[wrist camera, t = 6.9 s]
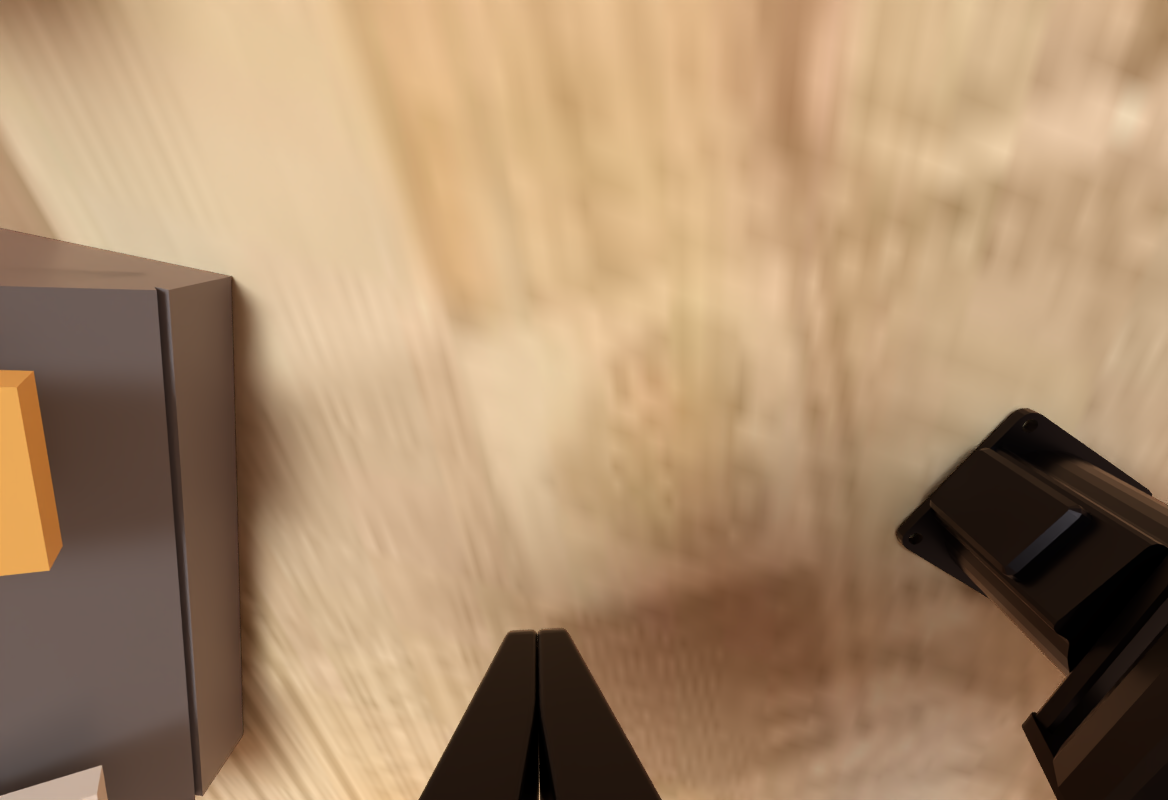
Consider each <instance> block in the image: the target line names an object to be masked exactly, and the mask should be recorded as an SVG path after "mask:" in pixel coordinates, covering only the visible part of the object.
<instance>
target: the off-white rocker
mask: <svg viewBox="0 0 1168 800" xmlns="http://www.w3.org/2000/svg"><path fill="white" fill-rule="evenodd" d="M0 800H108V798H107V792H106V786H105V780H104V774H103V768H102V765H100V766H97V767H94V768H90V769H87V770H84V771H80V772H77V773H74V774H71V775H67V776H64V777H61V778H57V779H54V780H51V781H48V782H44V783H41V784H38V785H34V786H31V787H28V788H24V789H21V790H18V791H15V792H11V793H8V794H5V795H1V796H0Z"/></svg>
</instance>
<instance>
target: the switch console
mask: <svg viewBox="0 0 1168 800" xmlns="http://www.w3.org/2000/svg"><path fill="white" fill-rule="evenodd" d="M0 370H20V371H34V376H35V382H36V388H37V394H38V400H39V406H40V412H41V418H42V424H43V430H44V436H45V442H46V448H47V454H48V460H49V466H50V472H51V478H52V484H53V490H54V496H55V502H56V508H57V514H58V521H59V527H60V533H61V539H62V545H63V546H62V548H61V550H60V552H59V554H58V556H57V558H56V559H55V561H54V563H53V565H52V567H51V569H50V571H41V572H32V573H23V574H14V575H4V576H0V796H1V795H5V794H8V793H11V792H15V791H18V790H21V789H24V788H28V787H31V786H34V785H38V784H41V783H44V782H48V781H51V780H54V779H57V778H61V777H64V776H67V775H71V774H74V773H77V772H80V771H84V770H87V769H90V768H94V767H97V766H100V765H102V768H103V774H104V780H105V786H106V792H107V798H108V800H195V795H200V796H203V795H204V794H205V792H206V790H207V789H208V787H209V786H210V784H211V783H212V781H213V780H214V778H215V777H216V775H217V774H218V772H219V771H220V769H221V768H222V766H223V765H224V763H225V761H226V760H227V758H228V757H229V755H230V754H231V752H232V751H233V749H234V748H235V746H236V745H237V743H238V742H239V740H240V739H241V737H242V736H243V712H242V674H241V635H240V596H239V557H238V519H237V480H236V441H235V403H234V364H233V325H232V286H231V276H227V275H223V274H218V273H213V272H208V271H203V270H199V269H194V268H189V267H184V266H179V265H175V264H170V263H165V262H160V261H155V260H151V259H146V258H141V257H136V256H131V255H127V254H122V253H117V252H112V251H107V250H103V249H98V248H93V247H88V246H83V245H79V244H74V243H69V242H64V241H60V240H55V239H50V238H45V237H40V236H36V235H31V234H26V233H21V232H16V231H12V230H7V229H2V228H0Z"/></svg>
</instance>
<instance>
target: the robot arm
mask: <svg viewBox="0 0 1168 800" xmlns="http://www.w3.org/2000/svg"><path fill="white" fill-rule="evenodd" d="M1027 420H1029V422H1028V424H1027V425H1026V426H1025V427H1023V424H1024V423H1025V422H1026V421H1027ZM915 533H916V535H915V536H914V537H912V538H909V537H910V536H911V535H912V534H915ZM897 538H898V540H899V541H900V542H901V543H902V544H903V545H904V546H905V547H906V548H907V549H908V550H910V551H912V552H913V553H915V554H917V555H918V556H920V557H922V558H923V559H925V560H927V561H928V562H930V563H932V564H933V565H935V566H937V567H938V568H940V569H942V570H943V571H945V572H946V573H948V574H950V575H951V576H953V577H955V578H956V579H958V580H960V581H961V582H963V583H965V584H966V585H968V586H970V587H971V588H973V589H975V590H976V591H978V592H979V593H981V594H983V595H984V596H986V597H988V598H989V599H991V600H992V601H993V603H994V604H995V605H996V606H997V607H998V608H999V609H1000V610H1001V611H1002V612H1003V613H1004V614H1005V615H1006V616H1007V617H1008V618H1009V619H1010V620H1011V621H1012V622H1013V623H1014V624H1015V625H1016V626H1017V627H1018V628H1019V629H1020V630H1021V631H1022V632H1023V633H1024V634H1025V635H1026V636H1027V637H1028V638H1029V639H1030V640H1031V641H1032V642H1033V643H1034V644H1035V645H1036V646H1037V647H1038V648H1039V649H1040V650H1041V651H1042V652H1043V653H1044V654H1045V655H1046V657H1047V658H1048V659H1049V660H1050V661H1051V662H1052V663H1053V664H1054V665H1055V666H1056V667H1057V668H1058V669H1059V670H1060V671H1061V672H1062V673H1063V674H1064V675H1065V676H1066V678H1065V679H1064V681H1063V682H1062V683H1061V684H1060V686H1059V687H1058V688H1057V689H1056V690H1055V692H1054V693H1053V694H1052V695H1051V697H1050V698H1049V699H1048V700H1047V701H1046V703H1045V704H1044V705H1043V706H1042V708H1041V709H1040V710H1039V711H1038V712H1037V713H1036V712H1032V713H1031V715H1030V716H1029V717H1028V718H1027V719H1026V721H1025V722H1024V723H1023V724H1022V728H1023V730H1024V732H1025V734H1026V736H1027V738H1028V741H1029V743H1030V745H1031V747H1032V749H1033V751H1034V753H1035V755H1036V757H1037V759H1038V761H1039V763H1040V765H1041V767H1042V769H1043V771H1044V773H1045V775H1046V777H1047V779H1048V782H1049V784H1050V786H1051V788H1052V790H1053V792H1054V794H1055V796H1056V798H1057V800H1168V505H1167V504H1165V503H1163V502H1161V501H1159V500H1157V499H1155V498H1154V497H1152V493H1151V492H1150V491H1149V490H1148V489H1147V488H1145V487H1144V486H1142V485H1141V484H1140V483H1138V482H1137V481H1135V480H1134V479H1132V478H1131V477H1130V476H1128V475H1127V474H1125V473H1124V472H1123V471H1121V470H1120V469H1118V468H1117V467H1115V466H1114V465H1113V464H1111V463H1110V462H1108V461H1107V460H1105V459H1104V458H1103V457H1101V456H1100V455H1098V454H1097V453H1096V452H1094V451H1093V450H1091V449H1090V448H1088V447H1087V446H1086V445H1084V444H1083V443H1081V442H1080V441H1078V440H1077V439H1076V438H1074V437H1073V436H1071V435H1070V434H1069V433H1067V432H1066V431H1064V430H1063V429H1061V428H1060V427H1059V426H1057V425H1056V424H1054V423H1053V422H1051V421H1050V420H1049V419H1047V418H1046V417H1044V416H1043V415H1041V414H1039V413H1037V412H1035V411H1033V410H1031V409H1028V408H1025V409H1020V410H1017V411H1015V412H1014V413H1013V414H1011V415H1010V416H1009V417H1008V418H1007V419H1006V420H1005V421H1004V422H1003V423H1002V424H1001V426H1000V427H999V428H998V429H997V430H996V431H995V432H994V433H993V434H992V435H991V436H990V437H989V438H988V439H987V440H986V441H985V442H984V443H983V444H982V445H981V446H980V447H979V448H978V449H977V450H976V451H975V452H974V453H973V454H972V455H971V456H970V457H969V458H968V459H967V460H966V461H965V462H964V463H963V464H962V465H961V466H960V467H959V468H958V469H957V470H956V471H955V472H954V473H953V474H952V475H951V476H950V477H949V478H948V479H947V480H946V481H945V482H944V483H943V484H942V485H941V486H940V487H939V488H938V489H937V490H936V491H935V492H934V493H933V494H932V495H931V496H930V497H929V498H928V499H927V500H926V501H925V502H924V503H923V504H922V505H921V506H920V507H919V508H918V509H917V510H916V511H915V512H914V513H913V514H912V515H911V516H910V517H909V518H908V519H907V520H906V521H905V522H904V523H903V524H902V525H901V526H900V528H899V529H898V531H897ZM539 781H540V800H662V799H661V798H660V796H659V794H658V792H657V790H656V789H655V787H654V785H653V783H652V781H651V780H650V778H649V776H648V774H647V773H646V771H645V769H644V767H643V765H642V764H641V762H640V760H639V758H638V756H637V755H636V753H635V751H634V749H633V747H632V746H631V744H630V742H629V740H628V739H627V737H626V735H625V733H624V731H623V730H622V728H621V726H620V724H619V722H618V721H617V719H616V717H615V715H614V713H613V712H612V710H611V708H610V706H609V704H608V703H607V701H606V699H605V697H604V696H603V694H602V692H601V690H600V688H599V687H598V685H597V683H596V681H595V679H594V678H593V676H592V674H591V672H590V670H589V669H588V667H587V665H586V663H585V662H584V660H583V658H582V656H581V654H580V653H579V651H578V649H577V647H576V645H575V644H574V642H573V640H572V638H571V636H570V635H569V633H568V632H567V630H566V629H564V628H552V629H541V630H539V632H538V635H537V633H536V631H534V630H514V631H510V632H508V634H507V635H506V636H505V638H504V640H503V642H502V644H501V646H500V647H499V649H498V651H497V653H496V655H495V657H494V659H493V661H492V663H491V664H490V666H489V668H488V670H487V672H486V674H485V676H484V678H483V680H482V681H481V683H480V685H479V687H478V689H477V691H476V693H475V695H474V696H473V698H472V700H471V702H470V704H469V706H468V708H467V710H466V712H465V713H464V715H463V717H462V719H461V721H460V723H459V725H458V727H457V728H456V730H455V732H454V734H453V736H452V738H451V740H450V742H449V744H448V745H447V747H446V749H445V751H444V753H443V755H442V757H441V759H440V761H439V762H438V764H437V766H436V768H435V770H434V772H433V774H432V776H431V777H430V779H429V781H428V783H427V785H426V787H425V789H424V791H423V793H422V794H421V796H420V798H419V800H539Z"/></svg>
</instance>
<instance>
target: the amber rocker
mask: <svg viewBox="0 0 1168 800" xmlns="http://www.w3.org/2000/svg"><path fill="white" fill-rule="evenodd" d="M62 546H63V545H62V539H61V533H60V527H59V521H58V514H57V508H56V502H55V496H54V490H53V484H52V478H51V472H50V466H49V460H48V454H47V448H46V442H45V436H44V430H43V424H42V418H41V412H40V406H39V400H38V394H37V388H36V382H35V376H34V371H20V370H0V576H4V575H14V574H23V573H32V572H41V571H50V569H51V567H52V565H53V563H54V561H55V559H56V558H57V556H58V554H59V552H60V550H61V548H62Z"/></svg>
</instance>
